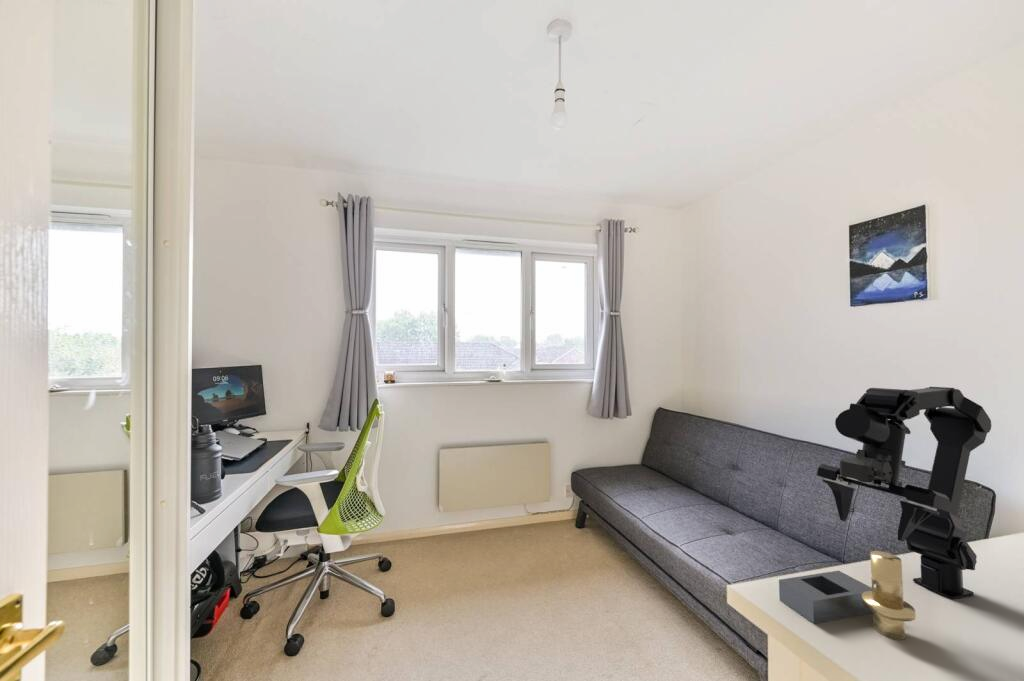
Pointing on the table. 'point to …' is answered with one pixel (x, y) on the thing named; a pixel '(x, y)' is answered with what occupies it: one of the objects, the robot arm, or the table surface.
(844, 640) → the table surface
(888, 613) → the brass pin
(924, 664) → the table surface
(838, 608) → the steel hitch block
